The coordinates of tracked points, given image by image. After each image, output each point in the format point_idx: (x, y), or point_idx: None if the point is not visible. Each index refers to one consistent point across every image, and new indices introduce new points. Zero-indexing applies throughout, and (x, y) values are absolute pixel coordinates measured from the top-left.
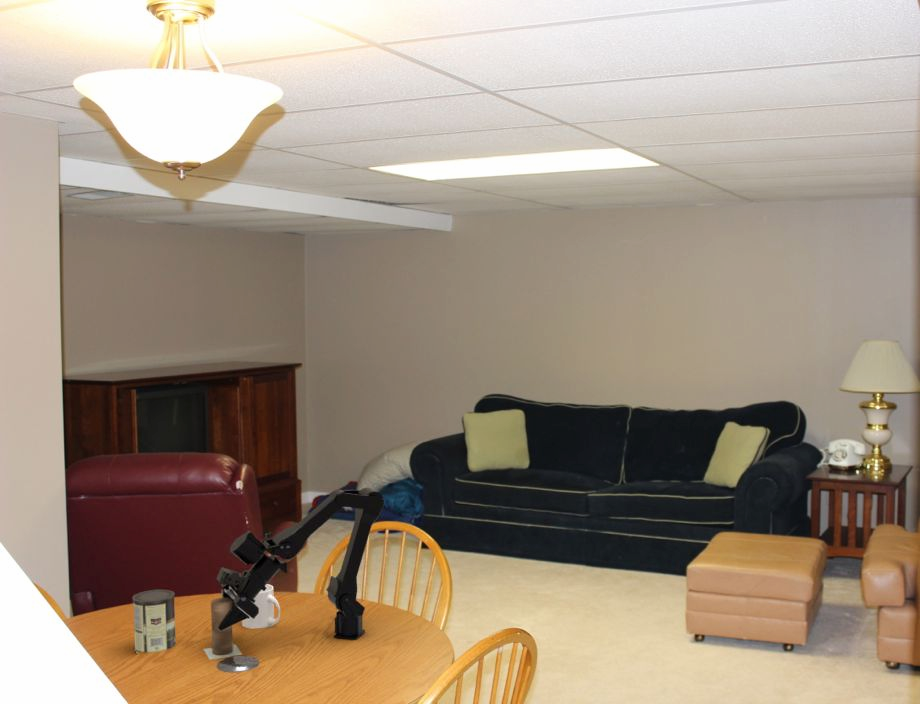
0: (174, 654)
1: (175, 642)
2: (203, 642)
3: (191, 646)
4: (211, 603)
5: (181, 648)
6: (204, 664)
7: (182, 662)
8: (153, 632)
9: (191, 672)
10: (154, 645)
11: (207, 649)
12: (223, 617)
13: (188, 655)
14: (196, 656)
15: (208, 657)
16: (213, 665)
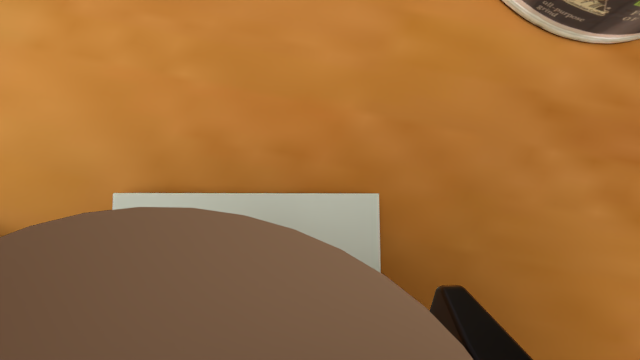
0: (433, 3)
1: (584, 19)
2: (598, 240)
3: (548, 143)
4: (123, 212)
5: (534, 70)
6: (127, 156)
7: (247, 21)
8: None
9: (9, 38)
10: None
11: (356, 222)
12: None
13: (371, 87)
14: (324, 135)
15: (167, 193)
16: (70, 215)
